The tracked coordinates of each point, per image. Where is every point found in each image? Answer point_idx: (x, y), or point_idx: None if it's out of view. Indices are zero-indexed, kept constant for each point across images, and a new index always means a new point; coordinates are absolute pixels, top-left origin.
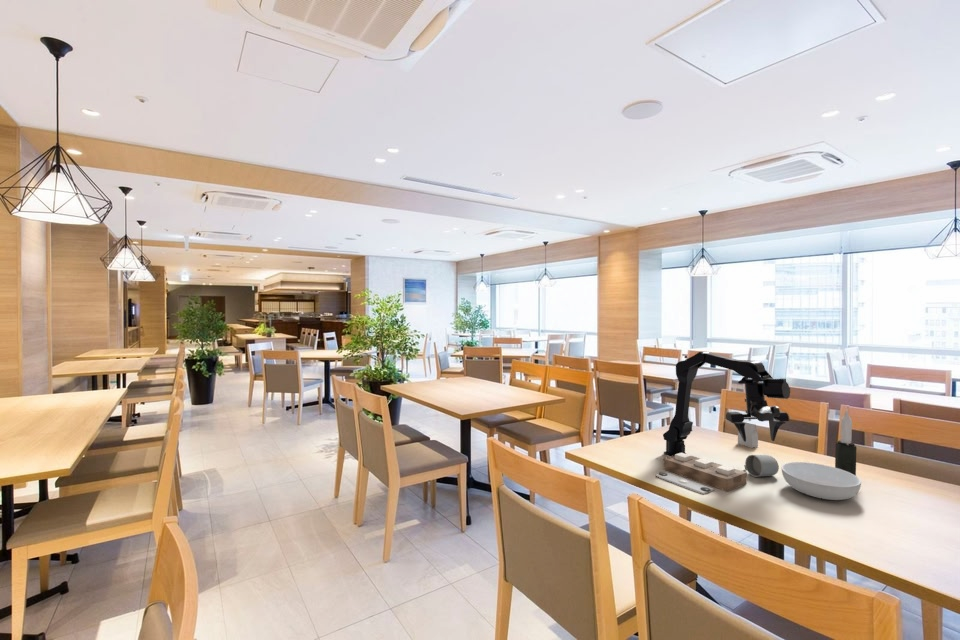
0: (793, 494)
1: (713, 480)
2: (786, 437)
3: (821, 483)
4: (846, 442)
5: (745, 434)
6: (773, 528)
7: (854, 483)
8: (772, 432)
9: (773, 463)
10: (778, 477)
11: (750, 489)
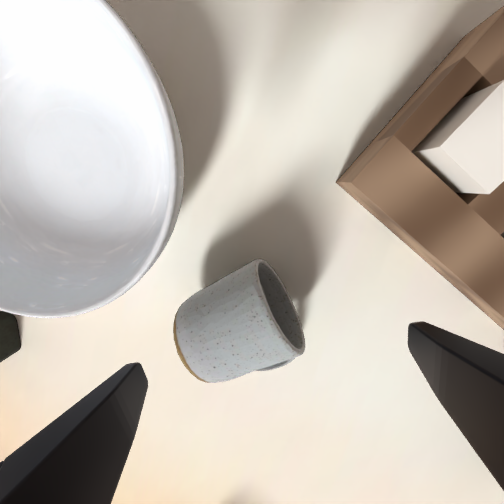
0: (177, 117)
1: None
2: None
3: (57, 236)
4: None
5: (487, 376)
6: None
7: None
8: (80, 466)
9: (194, 309)
10: (191, 295)
11: (339, 114)
